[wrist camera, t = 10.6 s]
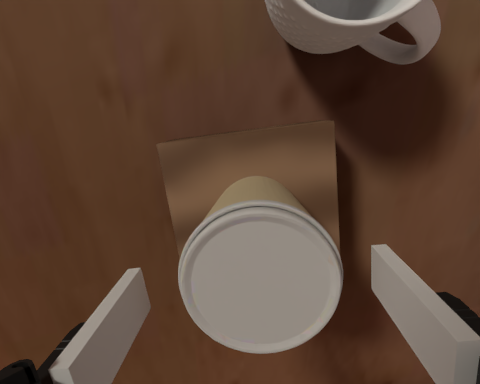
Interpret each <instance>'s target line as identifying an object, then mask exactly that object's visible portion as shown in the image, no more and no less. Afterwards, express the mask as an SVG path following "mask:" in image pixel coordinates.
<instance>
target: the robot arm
mask: <svg viewBox="0 0 480 384" xmlns="http://www.w3.org/2000/svg"><path fill="white" fill-rule="evenodd" d="M371 288H372V290H373V292H374V293H375V295H376V296H377V298H378V299H379V301H380V302H381V304H382V305H383V307H384V308H385V310H386V311H387V313H388V314H389V316H390V317H391V318H392V320H393V321H394V323H395V324H396V326H397V327H398V329H399V330H400V332H401V333H402V335H403V336H404V338H405V339H406V341H407V342H408V344H409V345H410V347H411V348H412V350H413V351H414V352H415V354H416V355H417V357H418V358H419V360H420V361H421V363H422V364H423V366H424V367H425V369H426V370H427V372H428V373H429V375H430V376H431V378H432V379H433V381H434V382H435V384H480V318H479V317H478V315H477V314H475V313H474V312H473V311H472V310H470V308H469V307H468V306H467V305H465V304H464V303H463V302H462V301H461V300H460V299H458V298H456V297H455V296H453V295H451V294H449V293H447V292H439V293H435V292H434V291H433V290H432V289H431V288H430V287H429V286H428V285H427V284H426V283H425V282H424V281H423V280H422V279H421V278H420V277H419V276H418V275H416V274H415V273H414V272H413V271H412V270H411V269H410V268H409V267H408V266H407V265H406V264H405V263H404V262H403V261H402V260H401V259H400V258H399V257H398V256H397V255H396V254H395V253H394V252H393V251H392V250H391V249H390V248H389V247H388V246H387V245H386V244H382V245H372V246H371ZM150 308H151V306H150V302H149V298H148V294H147V290H146V286H145V282H144V278H143V275H142V271H141V268H134V269H128V270H127V271H126V272H125V274H124V275H123V276H122V277H121V279H120V280H119V281H118V282H117V284H116V285H115V286H114V287H113V289H112V290H111V291H110V293H109V294H108V295H107V296H106V298H105V299H104V300H103V301H102V303H101V304H100V305H99V306H98V308H97V309H96V310H95V311H94V313H93V314H92V315H91V316H90V318H89V319H88V320H87V321H86V322H83V323H80V324H78V325H77V326H76V327H75V328H73V329H72V330H71V331H70V332H69V333H68V334H67V335H66V336H65V338H64V339H63V340H62V342H60V344H59V345H58V346H57V347H56V350H54V351H53V352H52V353H51V354H50V356H49V357H48V358H47V359H46V360H45V362H44V363H43V364H42V365H41V366H40V368H39V369H38V370H37V371H36V369H35V366H34V364H33V362H32V360H29V359H24V360H19V361H17V362H14V363H12V364H10V365H8V366H7V367H5V368H3V369H2V370H1V371H0V384H111V383H112V381H113V379H114V378H115V376H116V374H117V372H118V370H119V368H120V366H121V364H122V362H123V360H124V358H125V356H126V354H127V353H128V351H129V349H130V347H131V345H132V343H133V341H134V339H135V337H136V335H137V333H138V331H139V330H140V328H141V326H142V324H143V322H144V320H145V318H146V316H147V314H148V312H149V310H150Z"/></svg>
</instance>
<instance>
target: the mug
mask: <svg viewBox="0 0 480 384" xmlns="http://www.w3.org/2000/svg"><path fill="white" fill-rule="evenodd" d="M265 2H266V7H267V10H268V13H269V17H270V18H271V20H272V22H273V25H274V26H275V28H276V29H277V31H278V32H279V34H280V35H281V36H282V37H283V38H284V39H285V40H286V41H287V42H288V43H289V44H290V45H293V46H294V47H295V48H298V49H299V50H302V51H304V52H308V53H314V54H327V53H328V54H329V53H334V52H339V51H342V50H344V49H349V48H351V47H352V46H356V45H359V46H361V47H362V48H363V49H365V50H366V51H368V52H369V53H371V54H373V55H375V56H376V57H378V58H380V59H383V60H385V61H388V62H391V63H395V64H411V63H414V62H416V61H418V60H420V59H421V58H423V57H424V56H425V55H426V54H427V53H428V52H429V51H430V50H431V49H432V48H433V47H434V45H435V44H436V42H437V40H438V38H439V35H440V31H441V23H440V18H439V14H438V11H437V9H436V6H435V4H434V3H433V1H432V0H265ZM396 21H397V22H398V23H399V24H400V25H401V26H403V27H404V28H405V29H406V30H407V31H408V32H409V33H410V34H411V35H412V36H413V37H414V39H415V40H416V43H417V45H407V44H402V43H399V42H396V41H393V40H391V39H389V38H386V37H385V36H383V35H381V34H379V32H380V31H383V30H384V29H386V28H387V27H388V26H389V25H391V24H393V23H395V22H396Z"/></svg>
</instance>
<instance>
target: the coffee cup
mask: <svg viewBox="0 0 480 384" xmlns="http://www.w3.org/2000/svg"><path fill="white" fill-rule="evenodd" d="M178 281H179V288H180V292H181V295H182V298H183V301H184V304H185V306H186V309H187V311H188V313H189V314H190V316H191V318H192V319H193V320H194V322H195V323H196V324H197V325H198V326H199V328H200V329H201V330H202V331H204V332H205V333H206V334H207V335H208V336H210V337H211V338H212V339H214V340H215V341H217V342H219V343H221V344H223V345H225V346H227V347H229V348H232V349H235V350H239V351H242V352H248V353H258V354H262V353H276V352H280V351H284V350H288V349H291V348H294V347H296V346H298V345H301V344H303V343H305V342H306V341H308V340H309V339H311V338H312V337H313V336H315V335H316V334H317V333H319V332H320V331H321V330H322V329H323V327H324V326H325V325H326V324H327V323H328V322H329V320H330V319H331V317H332V315H333V314H334V312H335V310H336V307H337V305H338V302H339V299H340V295H341V291H342V286H343V267H342V261H341V258H340V254H339V252H338V249H337V247H336V245H335V243H334V241H333V239H332V238H331V236H330V235H329V234H328V232H327V231H326V230H325V229H324V228H323V226H322V225H321V224H320V223H319V222H317V221H316V220H315V219H314V218H313V217H312V216H311V215H310V214H309V213H308V212H307V210H306V209H305V208H304V207H303V206H302V205H301V204H300V202H299V201H298V200H297V199H296V198H295V197H294V196H293V195H292V193H291V192H290V191H289V190H288V189H287V188H286V187H284V186H283V185H282V184H281V183H279V182H277V181H275V180H273V179H271V178H268V177H262V176H251V177H246V178H243V179H240V180H238V181H237V182H235V183H233V184H232V185H231V186H229V187H228V188H227V189H226V190H225V192H224V193H223V194H222V195H221V196H220V198H219V199H218V200H217V202H216V203H215V205H214V206H213V207H212V209H211V210H210V212H209V213H208V214H207V216H206V217H205V219H204V220H203V221H202V223H201V224H200V225H199V226H198V227H197V228H196V229H195V230H194V231H193V233H192V234H191V235H190V237H189V239H188V240H187V242H186V244H185V246H184V248H183V251H182V254H181V257H180V262H179V268H178Z"/></svg>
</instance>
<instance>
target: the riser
mask: <svg viewBox="0 0 480 384" xmlns="http://www.w3.org/2000/svg"><path fill="white" fill-rule="evenodd" d="M156 145H157V150H158V155H159V159H160V164H161V169H162V174H163V179H164V184H165V189H166V194H167V199H168V204H169V208H170V213H171V218H172V223H173V228H174V233H175V238H176V243H177V248H178V253H179V257H181V254H182V251H183V248H184V246H185V244H186V242H187V240H188V239H189V237H190V235H191V234H192V233H193V231H194V230H195V229H196V228H197V227H198V226H199V225H200V224H201V223H202V221H203V220H204V219H205V217H206V216H207V214H208V213H209V212H210V210H211V209H212V207H213V206H214V205H215V203H216V202H217V200H218V199H219V198H220V196H221V195H222V194H223V193H224V192H225V190H226V189H227V188H228V187H229V186H231V185H232V184H233V183H235V182H237V181H238V180H240V179H243V178H246V177H251V176H262V177H268V178H271V179H273V180H275V181H277V182H279V183H281V184H282V185H283V186H284V187H286V188H287V189H288V190H289V191H290V192H291V193H292V195H293V196H294V197H295V198H296V199H297V200H298V201H299V202H300V204H301V205H302V206H303V207H304V208H305V209H306V210H307V212H308V213H309V214H310V215H311V216H312V217H313V218H314V219H315V220H316V221H317V222H319V223H320V224H321V225H322V226H323V228H324V229H325V230H326V231H327V232H328V234H329V235H330V236H331V238H332V239H333V241H334V243H335V245H336V247H337V249H338V252H339V254H340V238H339V215H338V193H337V170H336V147H335V125H334V121H323V120H318V121H310V122H302V123H295V124H287V125H280V126H272V127H265V128H257V129H250V130H242V131H235V132H227V133H219V134H212V135H204V136H197V137H189V138H182V139H174V140H170V141H167V142H163V143H159V144H156Z"/></svg>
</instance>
